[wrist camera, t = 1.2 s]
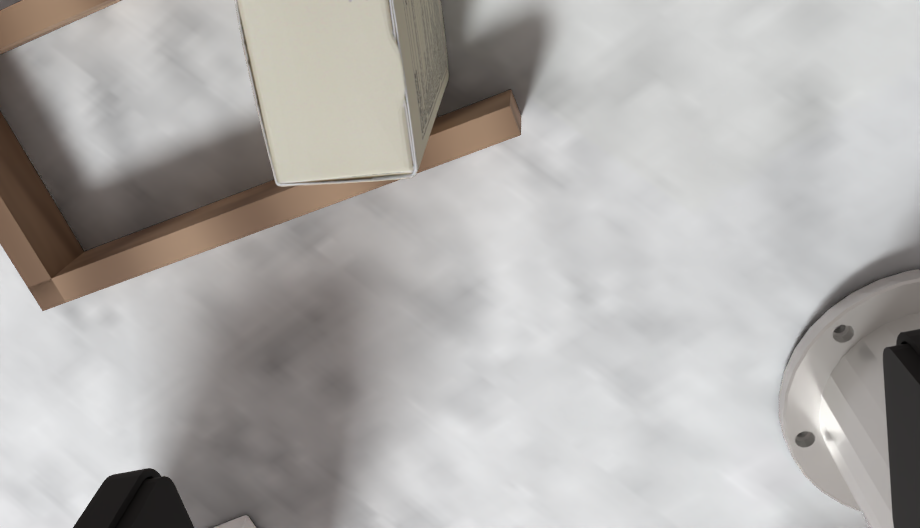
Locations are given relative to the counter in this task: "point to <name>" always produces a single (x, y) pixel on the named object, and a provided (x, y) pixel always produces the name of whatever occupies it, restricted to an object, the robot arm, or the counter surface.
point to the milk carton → (238, 523)
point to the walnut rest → (80, 273)
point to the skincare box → (344, 85)
